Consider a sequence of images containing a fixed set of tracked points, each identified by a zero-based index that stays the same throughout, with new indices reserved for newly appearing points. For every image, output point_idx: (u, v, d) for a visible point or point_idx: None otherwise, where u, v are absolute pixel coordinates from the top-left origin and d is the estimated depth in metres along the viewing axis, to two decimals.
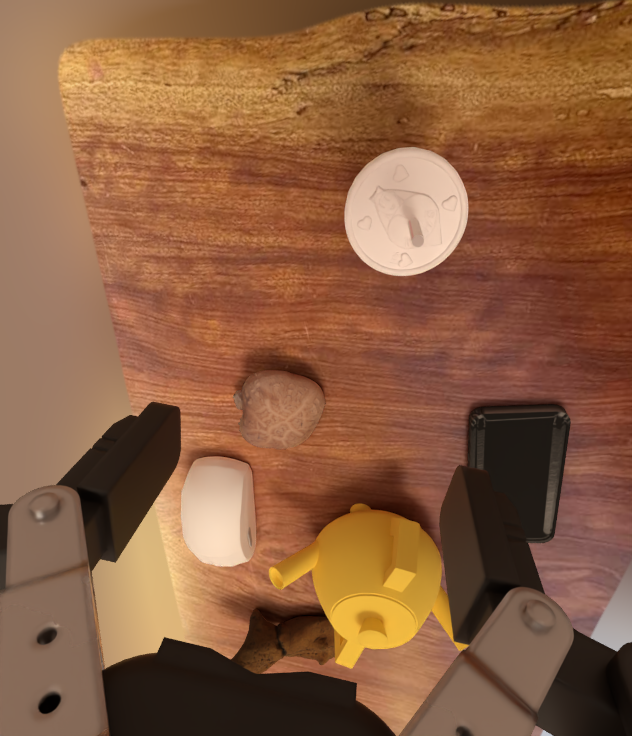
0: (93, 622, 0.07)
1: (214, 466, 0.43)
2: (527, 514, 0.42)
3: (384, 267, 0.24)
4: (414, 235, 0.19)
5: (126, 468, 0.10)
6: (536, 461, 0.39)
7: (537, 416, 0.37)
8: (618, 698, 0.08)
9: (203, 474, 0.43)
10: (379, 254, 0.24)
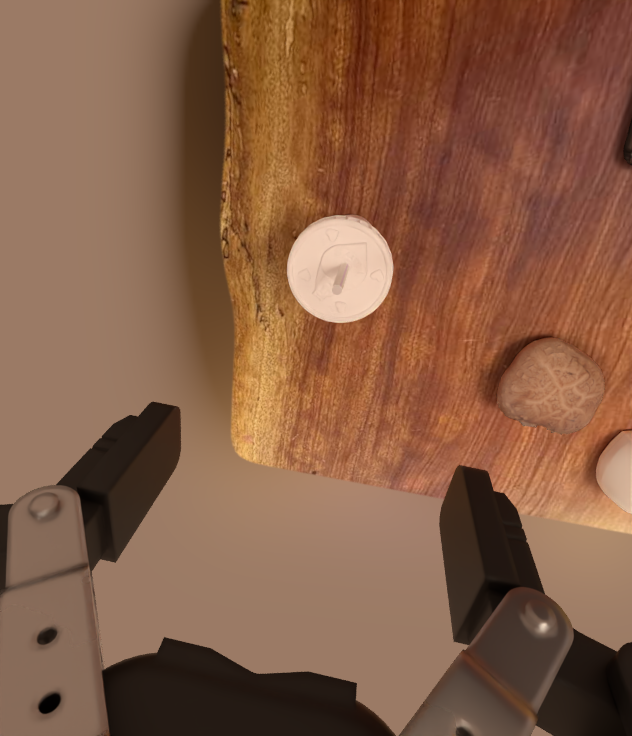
0: (93, 622, 0.07)
1: (607, 468, 0.39)
2: None
3: (381, 294, 0.27)
4: None
5: (126, 468, 0.10)
6: None
7: None
8: (618, 698, 0.08)
9: (612, 482, 0.38)
10: (368, 297, 0.27)
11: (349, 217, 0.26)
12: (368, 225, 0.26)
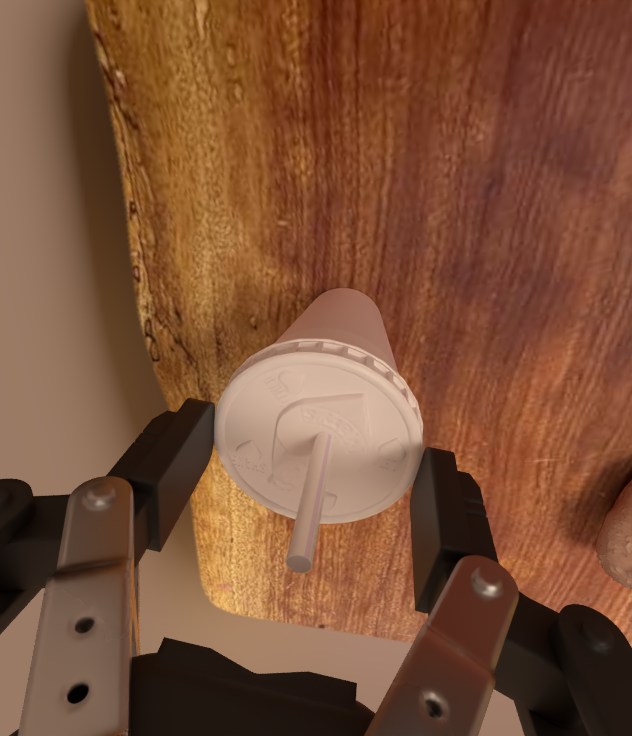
0: (128, 618, 0.07)
1: None
2: None
3: (402, 480, 0.13)
4: None
5: (172, 461, 0.10)
6: None
7: None
8: (558, 655, 0.08)
9: None
10: (378, 485, 0.14)
11: (325, 342, 0.12)
12: (366, 355, 0.12)
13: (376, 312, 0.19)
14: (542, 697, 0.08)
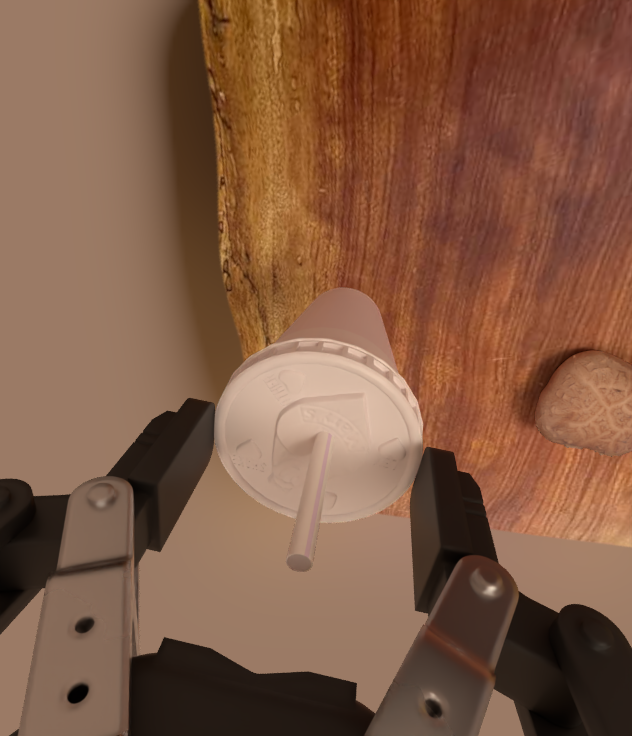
0: (128, 618, 0.07)
1: None
2: None
3: (402, 480, 0.13)
4: None
5: (172, 461, 0.10)
6: None
7: None
8: (558, 654, 0.08)
9: None
10: (378, 484, 0.14)
11: (325, 341, 0.12)
12: (366, 355, 0.12)
13: (376, 312, 0.19)
14: (542, 697, 0.08)
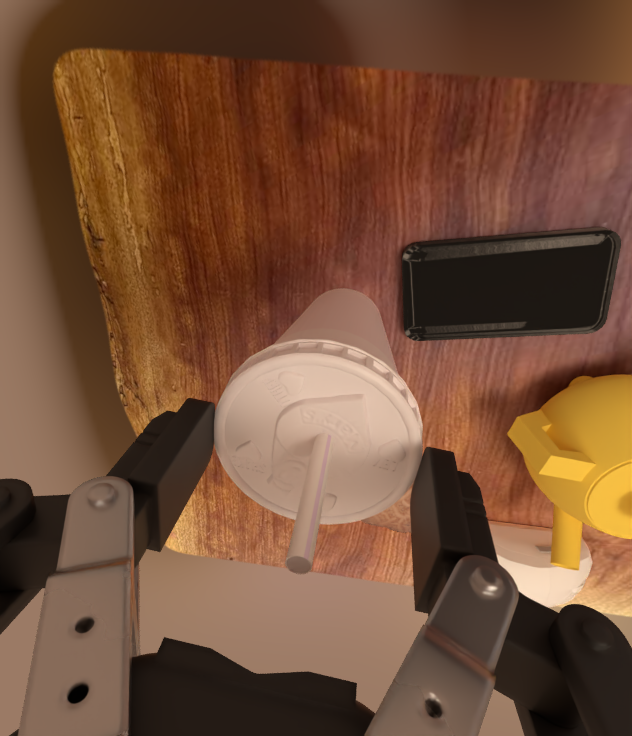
0: (128, 618, 0.07)
1: None
2: (562, 268, 0.33)
3: (402, 481, 0.13)
4: None
5: (172, 461, 0.10)
6: (472, 270, 0.34)
7: (409, 279, 0.35)
8: (558, 654, 0.08)
9: None
10: (378, 485, 0.14)
11: (325, 343, 0.12)
12: (365, 356, 0.12)
13: (376, 312, 0.19)
14: (542, 697, 0.08)
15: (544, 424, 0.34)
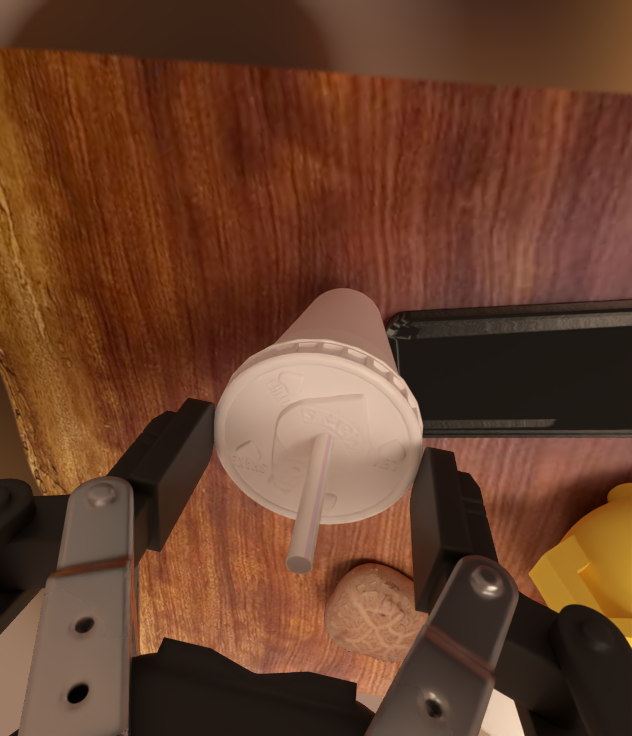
0: (128, 618, 0.07)
1: None
2: (609, 353, 0.23)
3: (402, 481, 0.13)
4: None
5: (172, 461, 0.10)
6: (482, 352, 0.24)
7: (395, 361, 0.25)
8: (558, 655, 0.08)
9: None
10: (378, 485, 0.14)
11: (325, 342, 0.12)
12: (366, 356, 0.12)
13: (376, 312, 0.19)
14: (542, 697, 0.08)
15: (580, 564, 0.25)
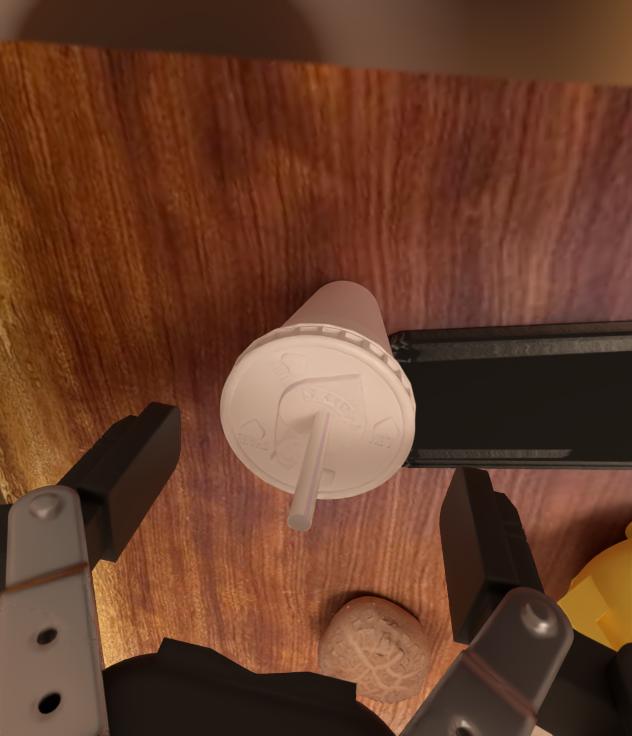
0: (93, 622, 0.07)
1: None
2: None
3: (396, 457, 0.14)
4: None
5: (126, 468, 0.10)
6: (490, 377, 0.22)
7: None
8: (618, 698, 0.08)
9: None
10: (374, 461, 0.15)
11: (324, 326, 0.13)
12: (362, 339, 0.13)
13: (374, 303, 0.20)
14: None
15: (598, 612, 0.22)
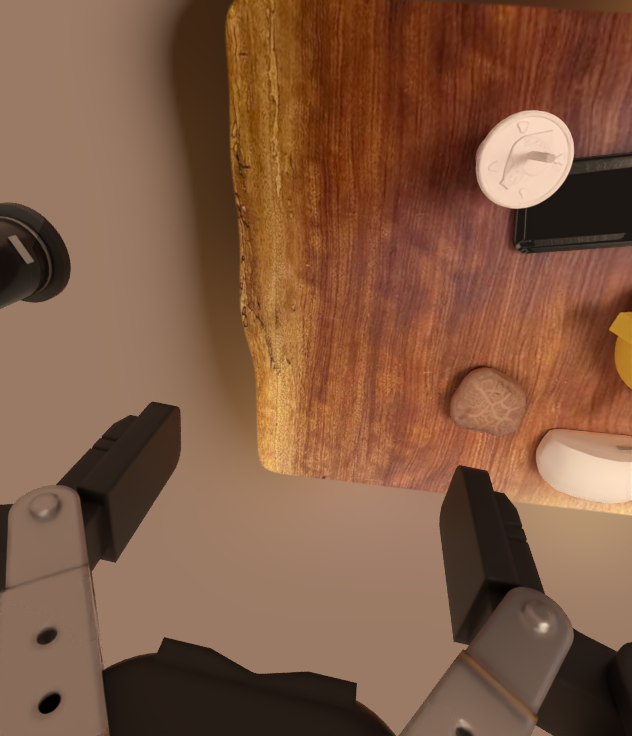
0: (93, 622, 0.07)
1: (540, 459, 0.52)
2: None
3: (562, 176, 0.32)
4: (546, 161, 0.28)
5: (126, 468, 0.10)
6: (582, 186, 0.39)
7: None
8: (618, 698, 0.08)
9: (544, 469, 0.51)
10: (550, 181, 0.32)
11: (535, 111, 0.31)
12: None
13: None
14: None
15: None
